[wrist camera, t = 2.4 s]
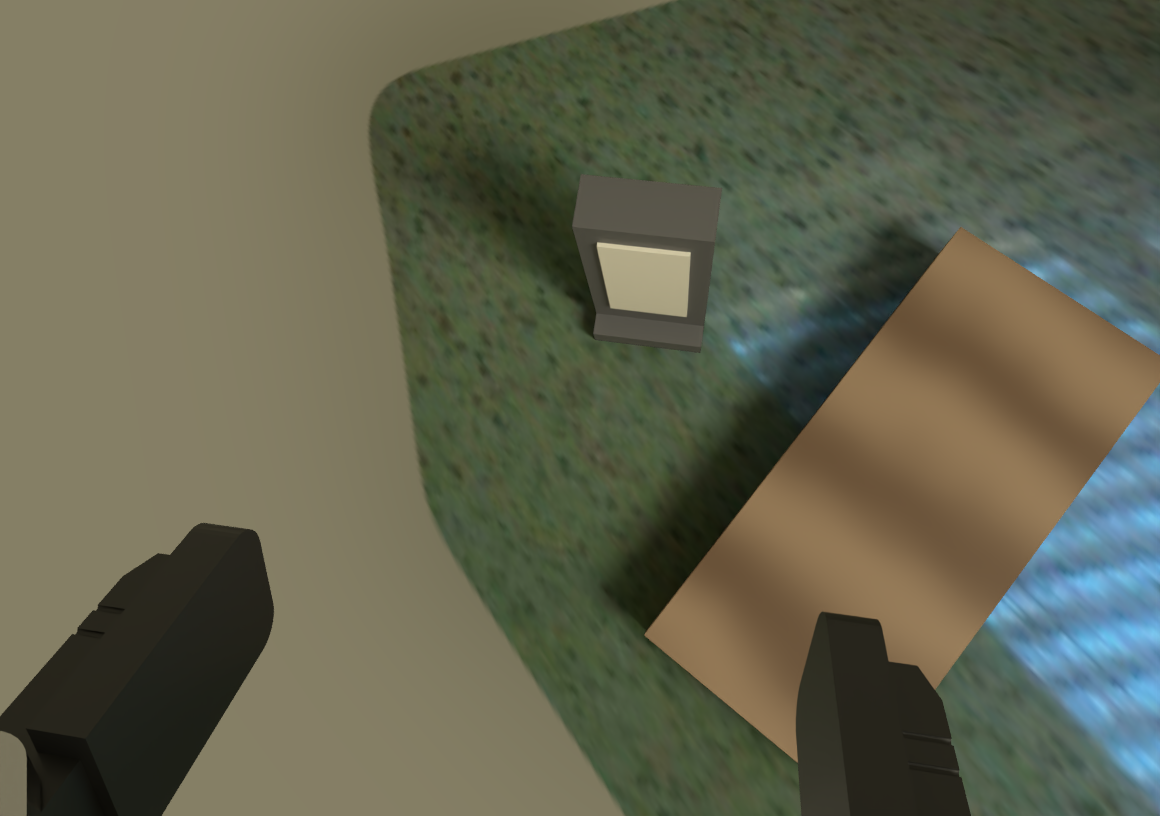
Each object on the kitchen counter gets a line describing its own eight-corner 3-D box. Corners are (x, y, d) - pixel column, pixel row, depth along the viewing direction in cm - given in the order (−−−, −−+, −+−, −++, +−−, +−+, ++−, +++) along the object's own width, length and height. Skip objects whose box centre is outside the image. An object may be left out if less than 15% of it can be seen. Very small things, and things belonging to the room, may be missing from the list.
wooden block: (939, 252, 40) (960, 226, 37) (1133, 380, 38) (1173, 364, 35) (646, 630, 38) (644, 634, 35) (834, 787, 36) (849, 805, 33)
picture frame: (607, 260, 41) (585, 148, 30) (711, 272, 41) (725, 162, 30) (595, 339, 40) (567, 253, 30) (700, 352, 40) (710, 269, 29)
